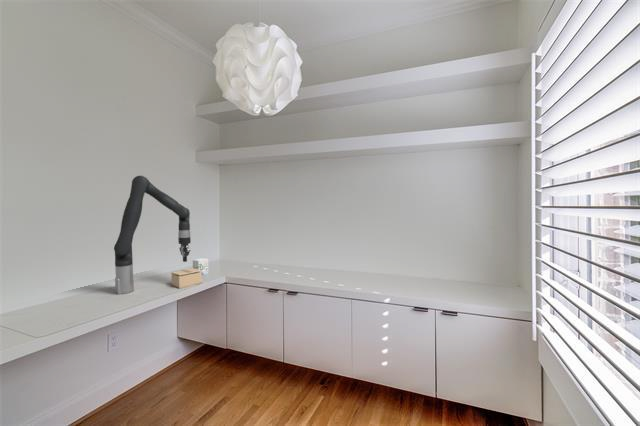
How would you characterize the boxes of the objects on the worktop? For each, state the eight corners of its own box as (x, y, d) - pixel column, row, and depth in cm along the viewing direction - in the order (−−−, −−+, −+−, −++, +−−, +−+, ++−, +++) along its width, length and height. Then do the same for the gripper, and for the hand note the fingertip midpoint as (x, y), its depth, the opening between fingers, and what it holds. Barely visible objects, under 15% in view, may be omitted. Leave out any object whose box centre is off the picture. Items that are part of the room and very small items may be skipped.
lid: (179, 275, 191) (179, 274, 191) (171, 273, 200) (171, 272, 200) (201, 271, 202) (201, 270, 202) (193, 269, 211) (193, 268, 211)
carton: (179, 288, 192) (179, 276, 191) (172, 284, 200) (171, 273, 200) (202, 283, 202) (201, 272, 202) (193, 280, 211) (193, 269, 211)
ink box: (198, 275, 223) (198, 260, 222) (192, 274, 228) (192, 259, 228) (208, 273, 230) (208, 258, 229) (202, 271, 235) (202, 257, 234)
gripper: (175, 236, 203) (175, 261, 203) (182, 238, 193) (183, 264, 194) (186, 235, 208) (186, 259, 209) (194, 236, 199) (194, 262, 200)
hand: (184, 261), depth 201 cm, fingers closed
